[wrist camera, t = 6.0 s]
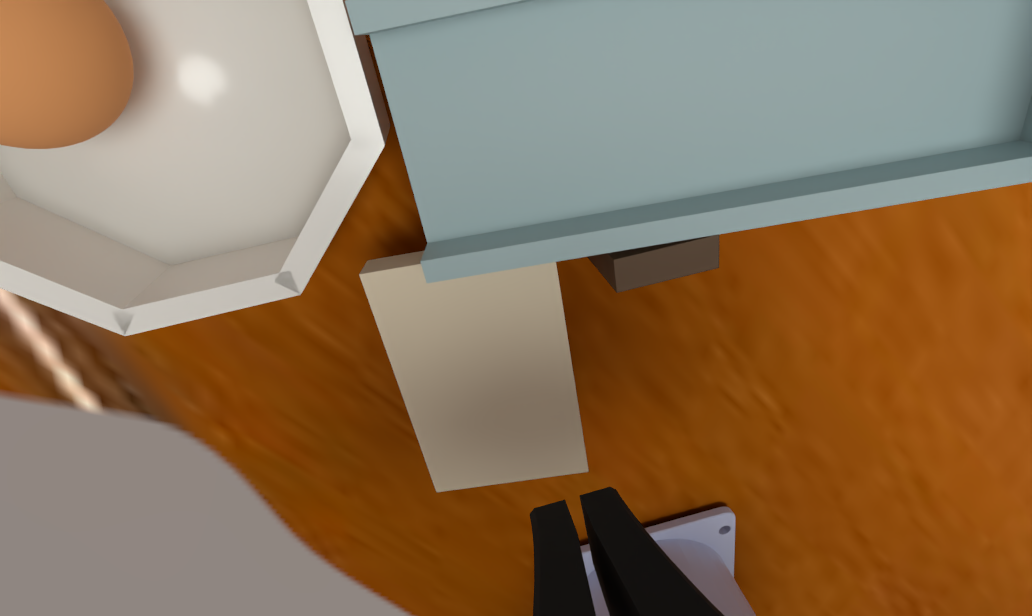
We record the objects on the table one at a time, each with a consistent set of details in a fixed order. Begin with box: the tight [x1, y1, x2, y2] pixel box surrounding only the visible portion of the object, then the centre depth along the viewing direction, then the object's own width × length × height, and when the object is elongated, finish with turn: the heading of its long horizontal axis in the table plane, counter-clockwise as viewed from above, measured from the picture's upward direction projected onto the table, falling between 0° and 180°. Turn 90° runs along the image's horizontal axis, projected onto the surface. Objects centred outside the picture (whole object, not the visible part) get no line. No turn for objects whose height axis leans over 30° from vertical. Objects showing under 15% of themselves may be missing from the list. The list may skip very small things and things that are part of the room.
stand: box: [587, 234, 719, 293], centre depth 12 cm, size 8×6×4 cm
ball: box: [0, 0, 134, 149], centre depth 9 cm, size 4×4×4 cm
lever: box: [345, 0, 1032, 492], centre depth 11 cm, size 12×15×3 cm
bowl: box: [0, 0, 391, 336], centre depth 11 cm, size 9×9×3 cm
